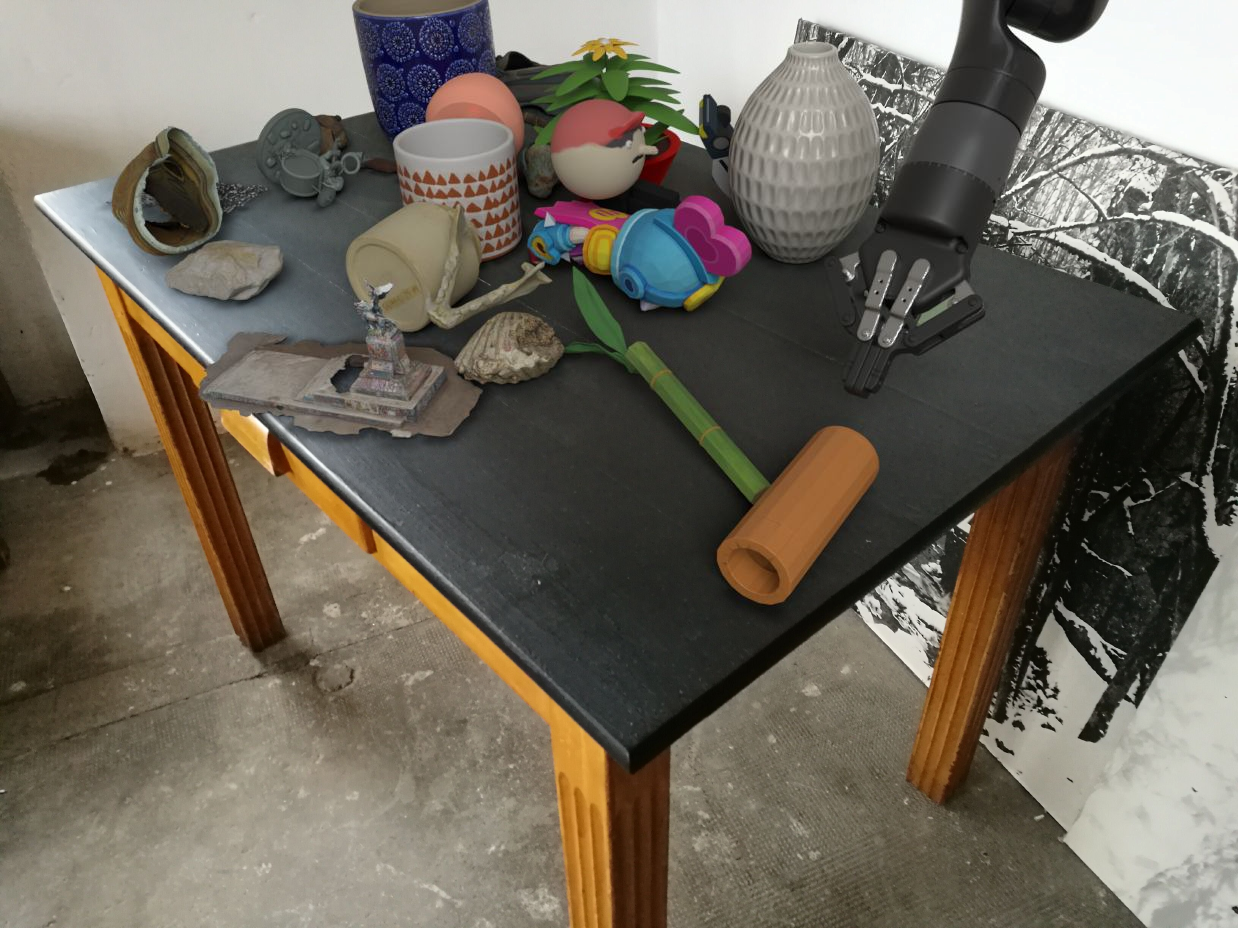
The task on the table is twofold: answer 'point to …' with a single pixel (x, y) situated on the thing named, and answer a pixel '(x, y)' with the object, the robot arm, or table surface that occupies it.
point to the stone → (227, 270)
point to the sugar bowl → (411, 262)
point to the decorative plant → (665, 389)
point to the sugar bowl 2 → (478, 103)
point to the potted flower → (620, 99)
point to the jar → (798, 515)
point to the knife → (379, 164)
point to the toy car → (716, 138)
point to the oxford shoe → (170, 194)
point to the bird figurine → (538, 163)
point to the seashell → (509, 350)
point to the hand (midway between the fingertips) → (855, 394)
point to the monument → (380, 397)
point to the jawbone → (450, 316)
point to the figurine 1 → (301, 156)
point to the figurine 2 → (331, 132)
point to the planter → (419, 53)
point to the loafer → (517, 77)
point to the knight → (645, 248)
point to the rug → (219, 196)
